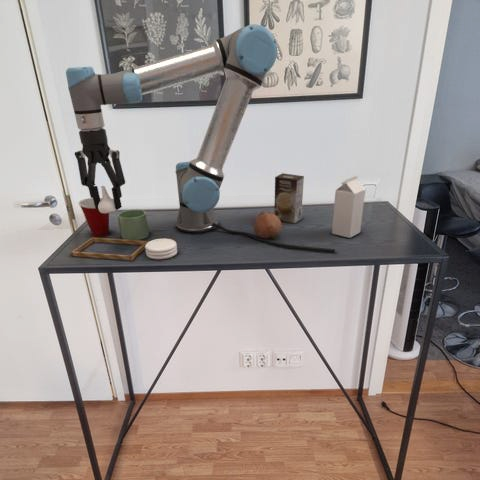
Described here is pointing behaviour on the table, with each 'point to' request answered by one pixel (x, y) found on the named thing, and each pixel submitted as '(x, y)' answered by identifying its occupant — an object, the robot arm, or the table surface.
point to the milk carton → (348, 208)
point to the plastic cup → (95, 218)
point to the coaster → (161, 249)
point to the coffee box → (288, 197)
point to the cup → (133, 224)
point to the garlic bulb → (106, 203)
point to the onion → (267, 226)
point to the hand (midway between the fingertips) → (108, 207)
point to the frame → (109, 256)
